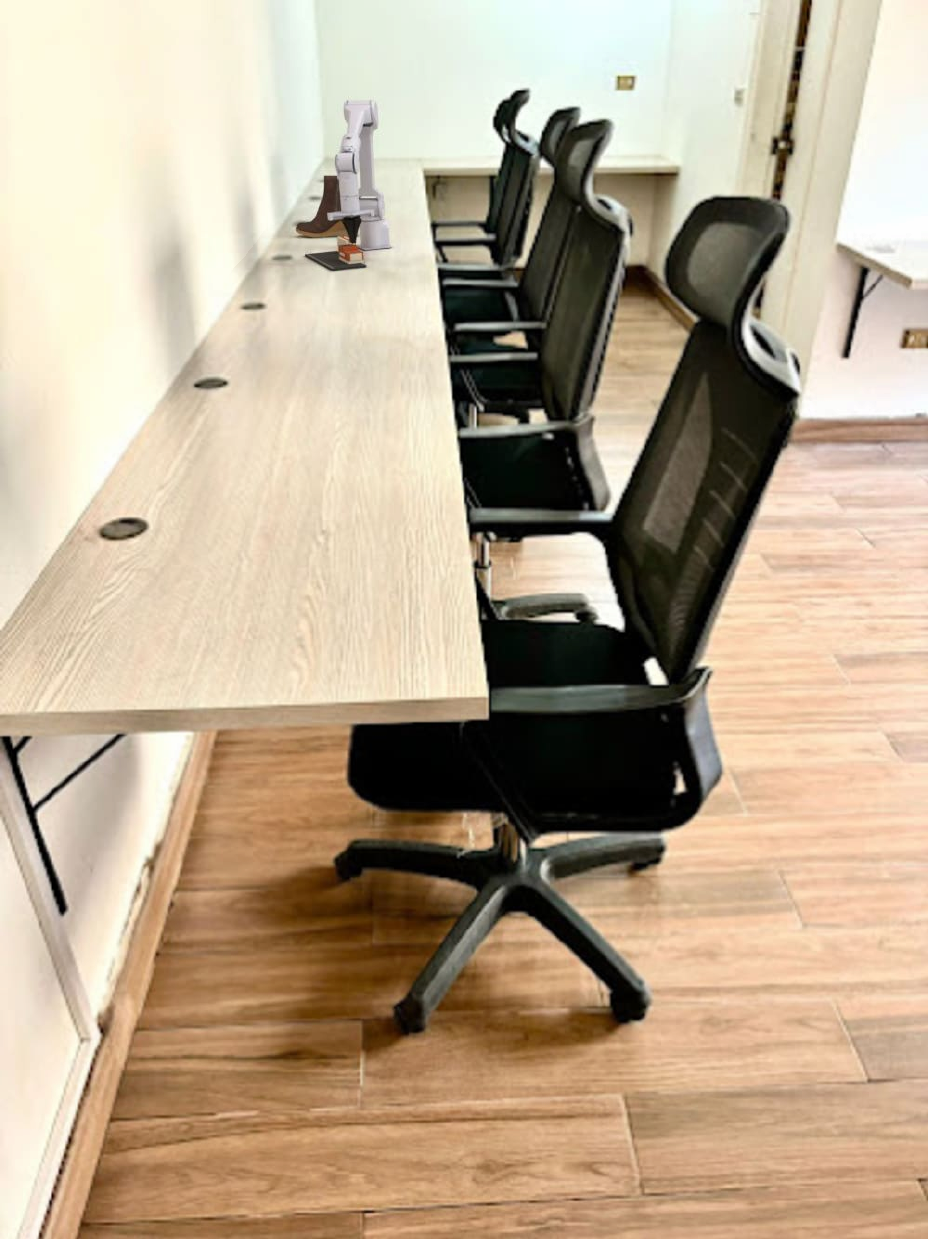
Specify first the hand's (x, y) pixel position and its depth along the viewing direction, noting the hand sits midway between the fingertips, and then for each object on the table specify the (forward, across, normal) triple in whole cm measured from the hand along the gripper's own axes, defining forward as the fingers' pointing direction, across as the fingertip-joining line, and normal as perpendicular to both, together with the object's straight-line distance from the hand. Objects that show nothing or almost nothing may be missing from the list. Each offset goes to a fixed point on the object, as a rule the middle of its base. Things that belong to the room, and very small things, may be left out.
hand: (353, 242), depth 297 cm
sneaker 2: (+3, +1, -1) cm, 3 cm away
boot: (+6, +8, +50) cm, 51 cm away
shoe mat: (+6, -5, +4) cm, 9 cm away
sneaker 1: (+6, +3, +13) cm, 14 cm away
